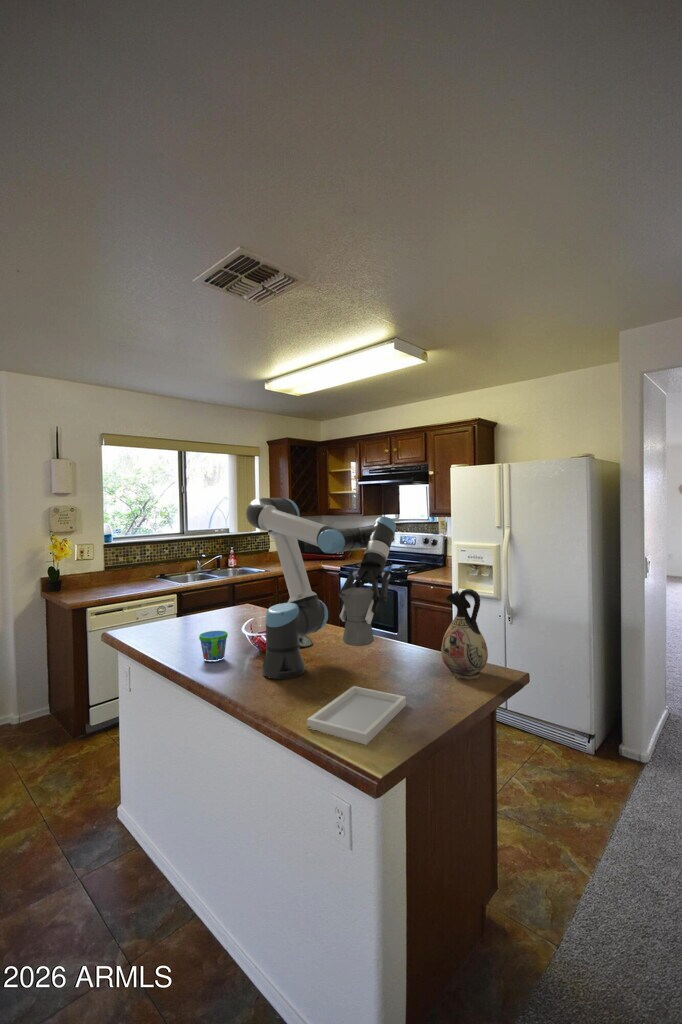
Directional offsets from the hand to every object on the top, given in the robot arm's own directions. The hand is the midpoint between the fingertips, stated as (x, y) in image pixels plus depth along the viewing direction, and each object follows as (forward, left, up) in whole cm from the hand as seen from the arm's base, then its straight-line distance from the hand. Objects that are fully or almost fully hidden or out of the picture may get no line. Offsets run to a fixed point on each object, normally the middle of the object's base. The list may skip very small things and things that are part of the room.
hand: (354, 620), depth 133 cm
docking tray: (+4, -6, -25) cm, 26 cm away
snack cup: (-68, +10, -25) cm, 73 cm away
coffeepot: (0, +4, -7) cm, 8 cm away
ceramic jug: (+22, +38, -25) cm, 51 cm away
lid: (-49, +42, -25) cm, 69 cm away
